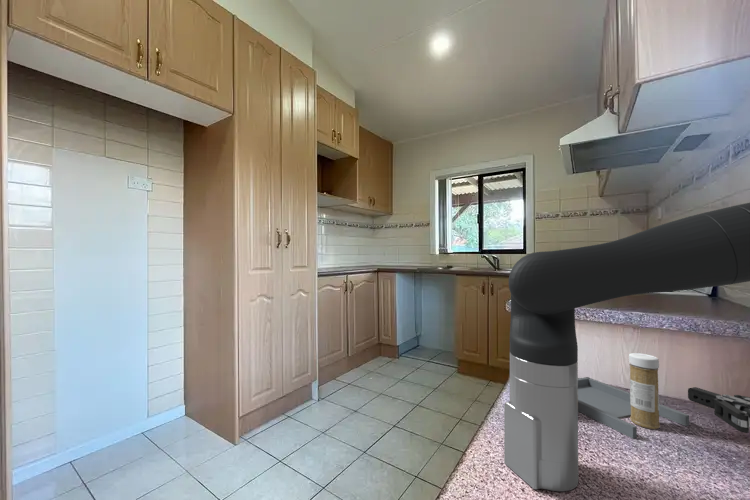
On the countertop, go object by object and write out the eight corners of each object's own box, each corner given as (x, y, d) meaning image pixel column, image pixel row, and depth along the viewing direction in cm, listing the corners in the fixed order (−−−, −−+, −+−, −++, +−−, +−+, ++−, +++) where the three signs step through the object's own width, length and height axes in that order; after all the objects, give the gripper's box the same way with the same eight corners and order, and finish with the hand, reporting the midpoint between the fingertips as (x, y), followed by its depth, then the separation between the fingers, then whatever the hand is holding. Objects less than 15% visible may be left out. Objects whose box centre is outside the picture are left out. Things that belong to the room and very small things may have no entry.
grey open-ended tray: (632, 438, 57) (632, 427, 57) (539, 391, 77) (539, 383, 77) (689, 425, 62) (689, 415, 62) (587, 384, 82) (587, 376, 82)
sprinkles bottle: (664, 426, 61) (663, 357, 62) (652, 432, 59) (651, 360, 60) (636, 416, 65) (635, 351, 66) (624, 421, 63) (624, 353, 64)
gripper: (889, 412, 41) (713, 368, 58) (839, 427, 37) (665, 375, 54) (891, 470, 41) (713, 409, 57) (840, 492, 37) (665, 419, 53)
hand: (690, 393), depth 56 cm, fingers closed
